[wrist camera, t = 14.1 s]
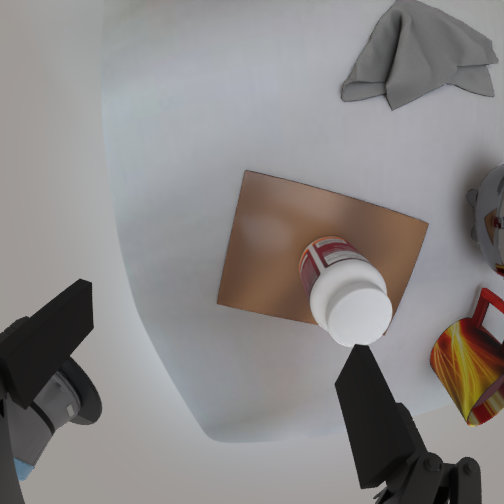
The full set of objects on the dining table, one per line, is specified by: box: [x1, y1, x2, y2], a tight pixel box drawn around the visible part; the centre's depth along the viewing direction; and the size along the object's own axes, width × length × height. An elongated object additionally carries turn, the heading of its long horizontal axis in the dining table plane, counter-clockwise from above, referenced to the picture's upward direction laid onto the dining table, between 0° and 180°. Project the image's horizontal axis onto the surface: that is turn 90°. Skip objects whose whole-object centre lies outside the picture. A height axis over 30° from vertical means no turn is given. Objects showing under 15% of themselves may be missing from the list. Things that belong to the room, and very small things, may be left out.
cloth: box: [341, 0, 498, 110], centre depth 20 cm, size 26×14×2 cm, turn 108°
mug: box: [430, 288, 504, 426], centre depth 26 cm, size 10×14×12 cm
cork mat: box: [217, 170, 428, 335], centre depth 29 cm, size 20×14×1 cm
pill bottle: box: [299, 236, 392, 347], centre depth 23 cm, size 6×6×11 cm
